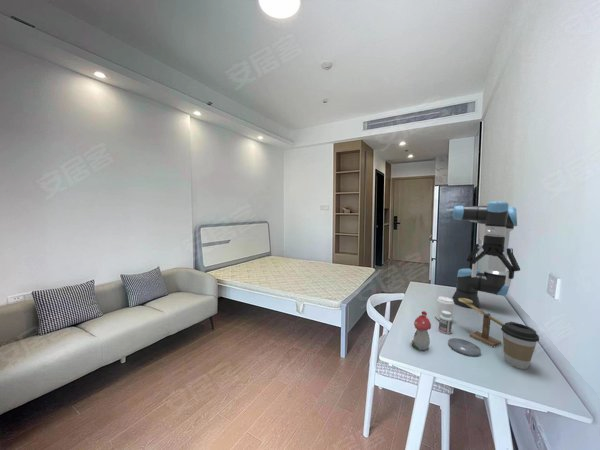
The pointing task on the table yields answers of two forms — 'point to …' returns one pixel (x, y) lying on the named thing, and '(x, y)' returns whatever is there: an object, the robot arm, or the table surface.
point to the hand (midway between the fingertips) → (489, 281)
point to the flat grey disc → (464, 347)
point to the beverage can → (444, 306)
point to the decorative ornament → (421, 332)
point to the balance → (484, 335)
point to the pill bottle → (445, 322)
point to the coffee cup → (518, 344)
